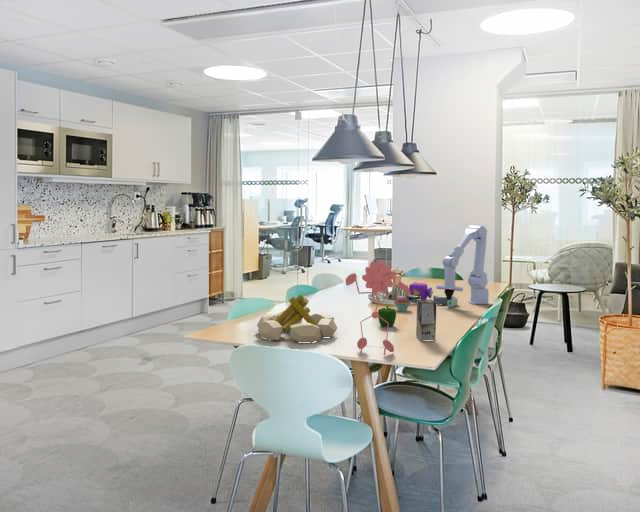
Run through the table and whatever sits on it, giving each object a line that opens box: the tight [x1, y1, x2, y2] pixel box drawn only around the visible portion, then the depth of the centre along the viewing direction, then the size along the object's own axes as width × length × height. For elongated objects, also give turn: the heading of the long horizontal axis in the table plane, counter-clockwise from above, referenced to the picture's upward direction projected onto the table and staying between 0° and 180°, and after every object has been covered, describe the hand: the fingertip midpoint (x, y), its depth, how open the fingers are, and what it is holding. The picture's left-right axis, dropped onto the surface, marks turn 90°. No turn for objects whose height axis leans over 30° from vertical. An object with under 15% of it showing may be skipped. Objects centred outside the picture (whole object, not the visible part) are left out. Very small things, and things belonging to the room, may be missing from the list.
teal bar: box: [446, 297, 458, 308], centre depth 327 cm, size 10×2×4 cm, turn 140°
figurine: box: [344, 260, 410, 356], centre depth 228 cm, size 15×26×35 cm, turn 69°
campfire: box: [256, 294, 338, 343], centre depth 256 cm, size 35×34×17 cm
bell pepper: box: [377, 303, 397, 327], centre depth 275 cm, size 8×8×10 cm
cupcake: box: [393, 292, 412, 312], centre depth 314 cm, size 9×8×12 cm
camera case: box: [432, 295, 457, 306], centre depth 335 cm, size 11×8×4 cm
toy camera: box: [408, 281, 434, 300], centre depth 347 cm, size 11×14×10 cm
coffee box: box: [415, 299, 437, 341], centre depth 250 cm, size 9×6×16 cm
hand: (449, 303), depth 327 cm, fingers closed
